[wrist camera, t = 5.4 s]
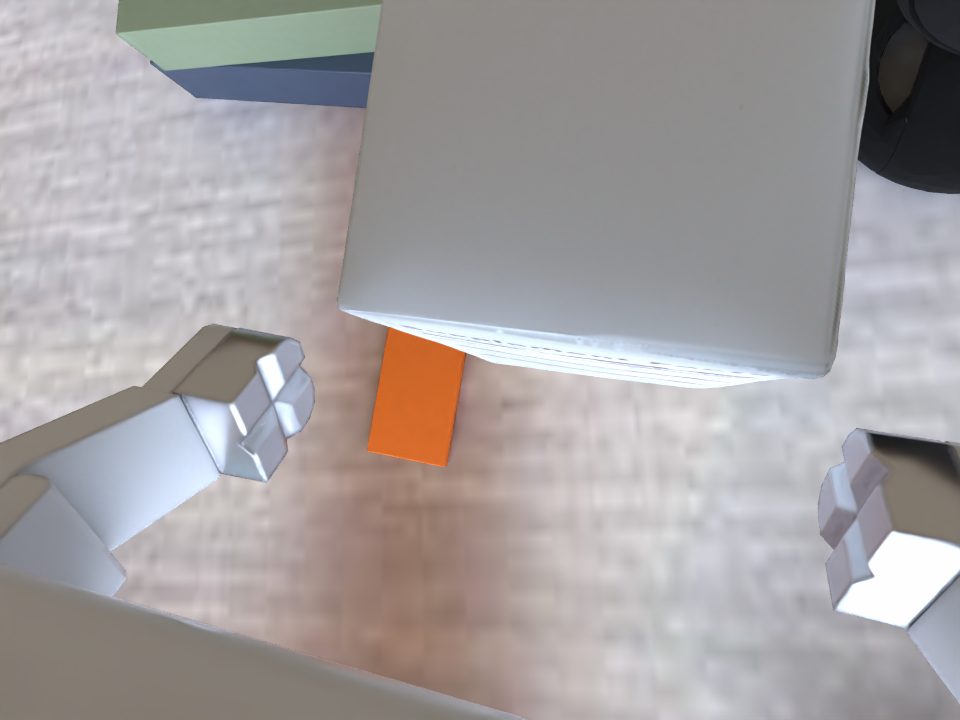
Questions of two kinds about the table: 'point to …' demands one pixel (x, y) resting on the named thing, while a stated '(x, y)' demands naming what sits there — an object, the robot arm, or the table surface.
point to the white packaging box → (613, 183)
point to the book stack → (259, 47)
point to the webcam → (917, 101)
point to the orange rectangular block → (416, 399)
